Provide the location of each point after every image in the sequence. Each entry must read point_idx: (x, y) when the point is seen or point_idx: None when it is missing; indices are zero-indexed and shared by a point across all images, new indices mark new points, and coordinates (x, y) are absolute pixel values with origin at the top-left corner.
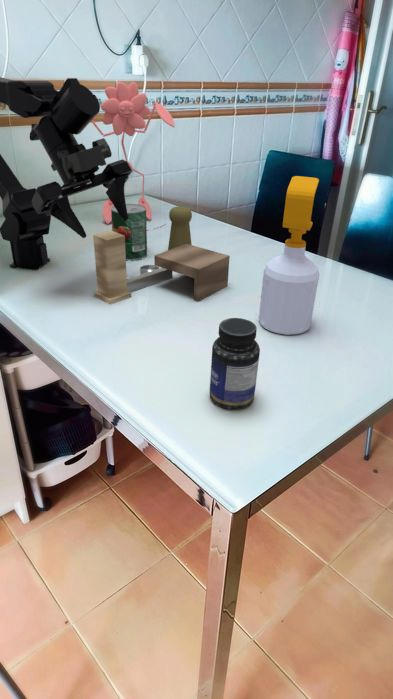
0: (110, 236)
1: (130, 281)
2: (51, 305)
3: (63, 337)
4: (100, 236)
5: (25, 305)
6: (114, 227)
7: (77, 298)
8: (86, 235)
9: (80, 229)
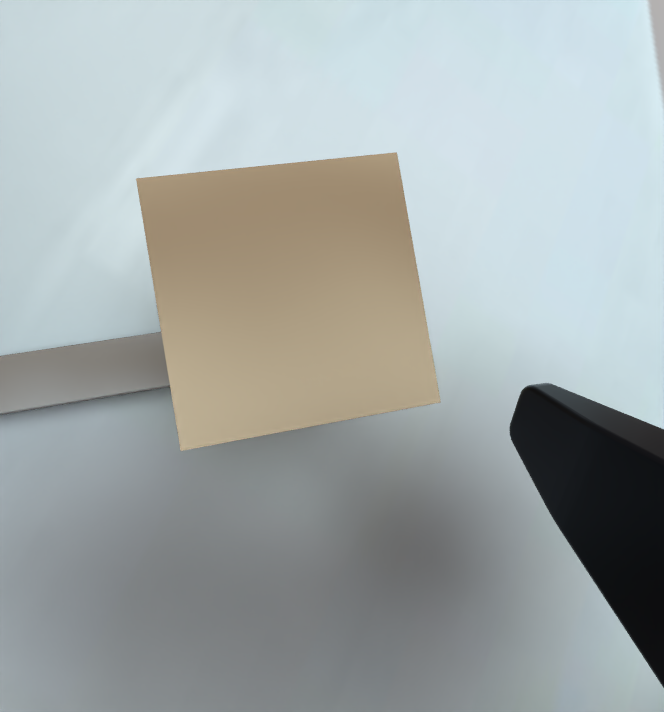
0: (300, 243)
1: (115, 344)
2: None
3: (610, 99)
4: (397, 302)
5: None
6: None
7: (418, 428)
8: (525, 389)
9: (621, 412)
